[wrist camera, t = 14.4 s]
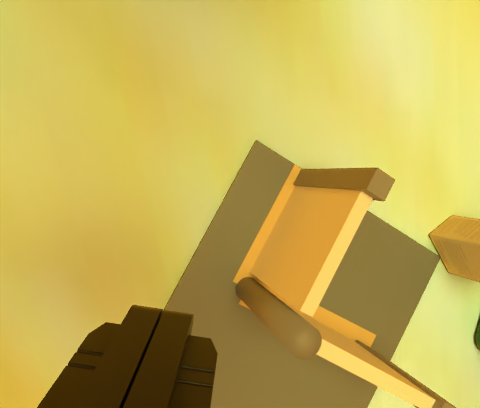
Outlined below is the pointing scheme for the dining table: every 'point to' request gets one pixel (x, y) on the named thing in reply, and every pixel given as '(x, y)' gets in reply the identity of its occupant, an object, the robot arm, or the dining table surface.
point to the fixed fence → (309, 250)
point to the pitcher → (478, 336)
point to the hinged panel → (373, 367)
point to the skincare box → (459, 246)
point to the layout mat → (328, 312)
